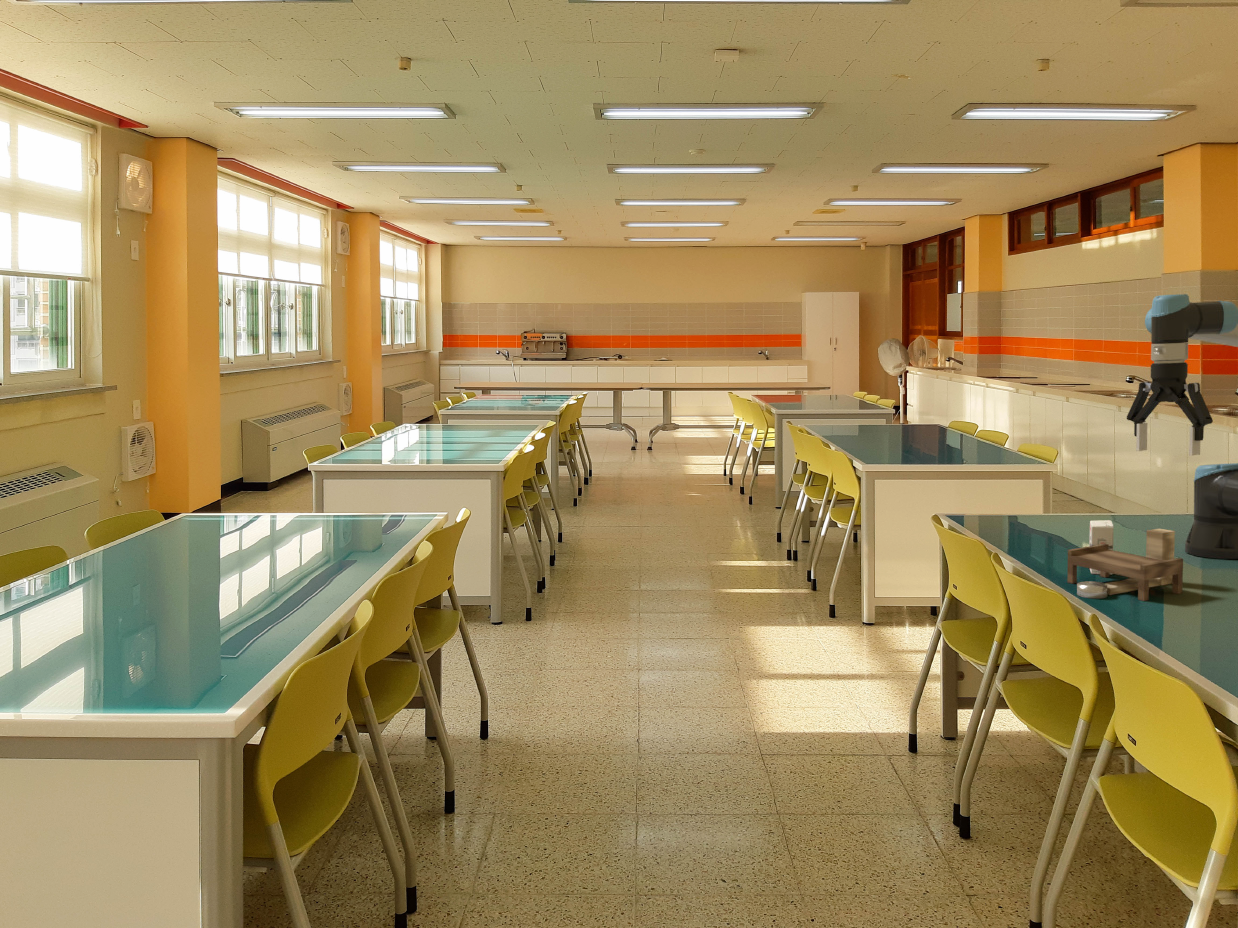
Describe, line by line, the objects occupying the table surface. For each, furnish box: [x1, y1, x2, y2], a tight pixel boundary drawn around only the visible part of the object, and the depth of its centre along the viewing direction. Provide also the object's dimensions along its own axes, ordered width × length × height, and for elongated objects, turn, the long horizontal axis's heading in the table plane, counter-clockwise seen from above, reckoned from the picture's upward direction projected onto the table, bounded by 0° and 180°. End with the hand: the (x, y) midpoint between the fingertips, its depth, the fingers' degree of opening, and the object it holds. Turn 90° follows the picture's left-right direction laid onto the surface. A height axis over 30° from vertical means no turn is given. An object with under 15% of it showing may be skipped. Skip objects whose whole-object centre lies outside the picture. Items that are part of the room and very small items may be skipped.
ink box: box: [1088, 519, 1114, 576], centre depth 239 cm, size 9×5×12 cm, turn 158°
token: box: [1076, 580, 1108, 600], centre depth 218 cm, size 6×6×2 cm
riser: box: [1067, 544, 1184, 602], centre depth 223 cm, size 12×20×8 cm, turn 24°
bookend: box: [1105, 528, 1176, 596], centre depth 223 cm, size 20×4×12 cm, turn 114°
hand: (1167, 452), depth 232 cm, fingers open, 13 cm apart
